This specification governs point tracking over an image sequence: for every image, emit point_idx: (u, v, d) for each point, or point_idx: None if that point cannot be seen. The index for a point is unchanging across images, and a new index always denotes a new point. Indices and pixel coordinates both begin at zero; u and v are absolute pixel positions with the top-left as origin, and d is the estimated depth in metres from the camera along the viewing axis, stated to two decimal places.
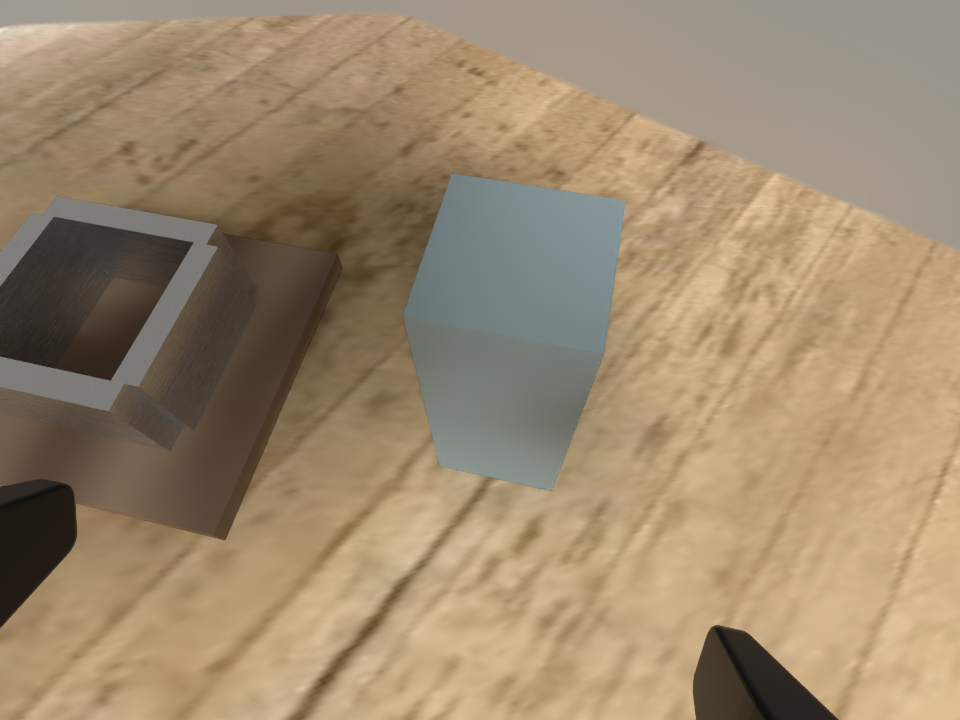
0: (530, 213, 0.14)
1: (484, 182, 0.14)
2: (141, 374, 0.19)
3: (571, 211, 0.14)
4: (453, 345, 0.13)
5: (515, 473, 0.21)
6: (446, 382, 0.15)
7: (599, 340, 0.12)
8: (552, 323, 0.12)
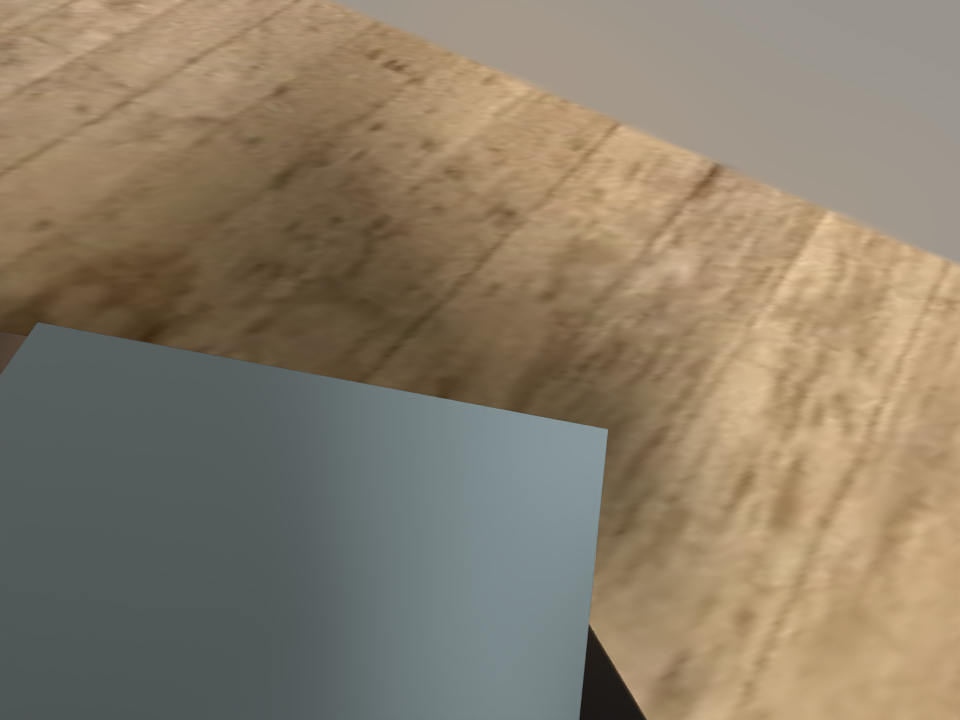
0: (258, 495, 0.04)
1: (135, 356, 0.04)
2: None
3: (410, 480, 0.04)
4: None
5: None
6: None
7: None
8: None
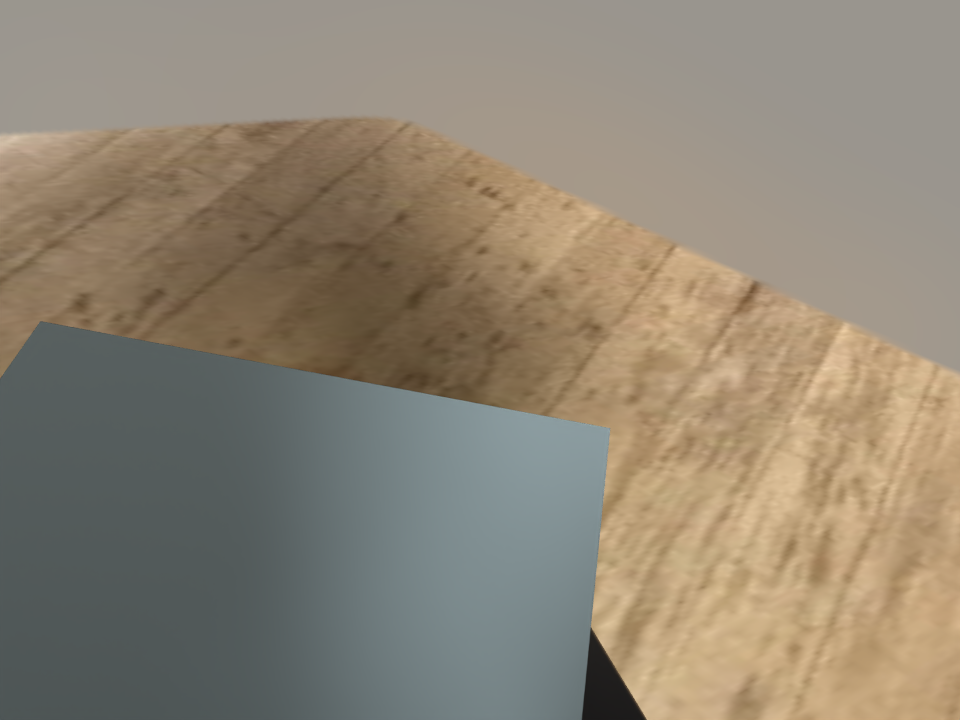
0: (261, 494, 0.04)
1: (137, 355, 0.04)
2: None
3: (412, 480, 0.04)
4: None
5: None
6: None
7: None
8: None
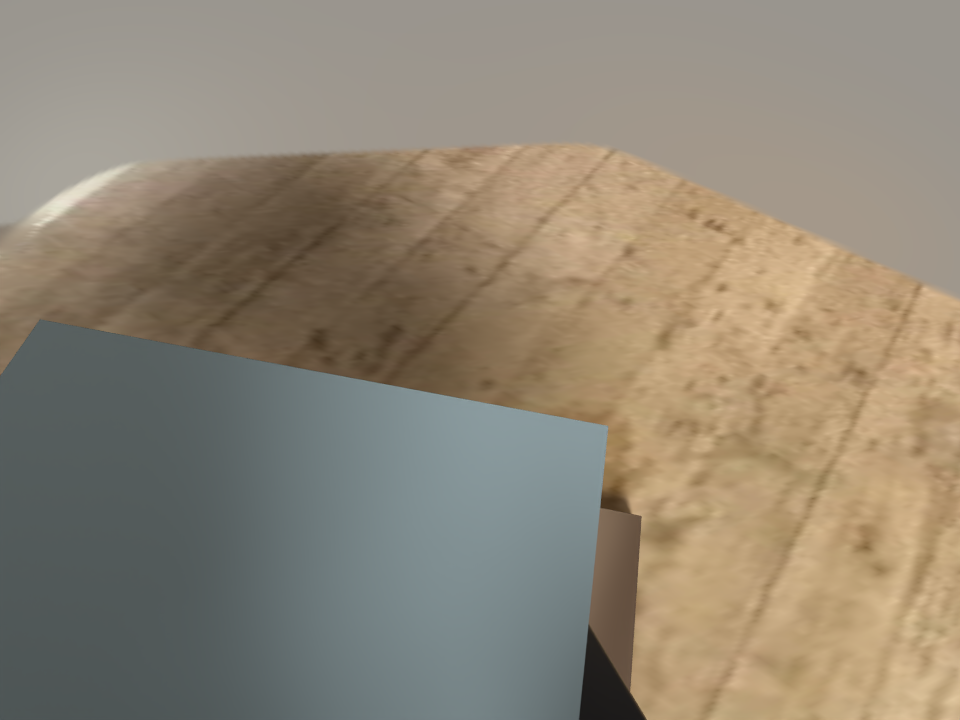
0: (260, 491, 0.04)
1: (136, 353, 0.04)
2: None
3: (411, 476, 0.04)
4: None
5: None
6: None
7: None
8: None
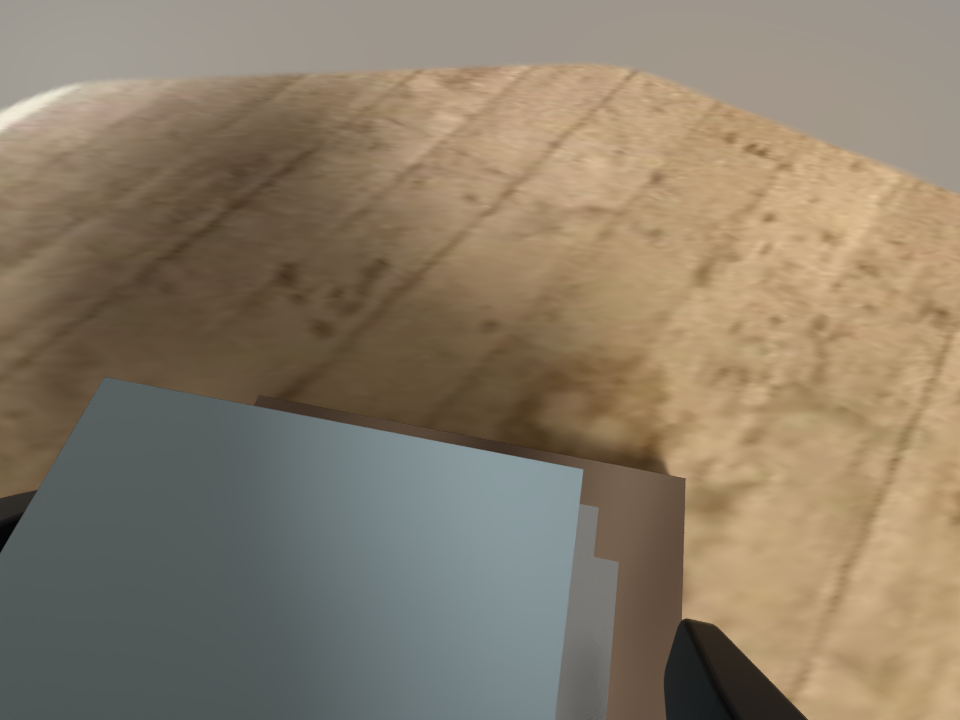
0: (297, 525, 0.05)
1: (188, 407, 0.05)
2: None
3: (420, 514, 0.05)
4: None
5: None
6: None
7: None
8: None
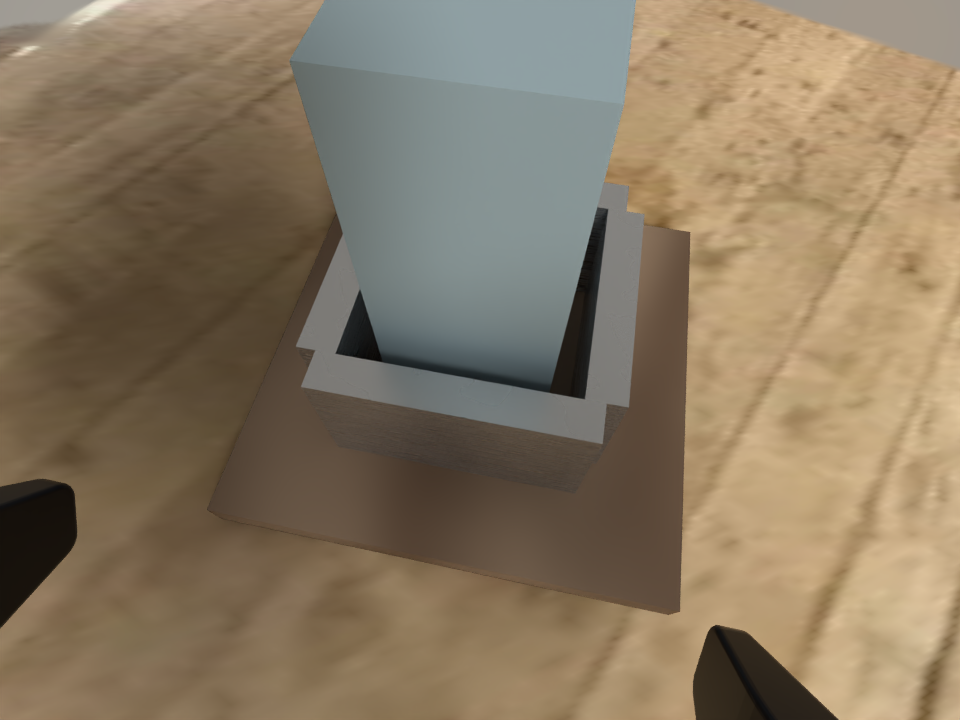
0: None
1: None
2: (624, 388, 0.13)
3: None
4: (381, 128, 0.08)
5: None
6: (381, 226, 0.10)
7: (615, 87, 0.07)
8: (536, 68, 0.07)
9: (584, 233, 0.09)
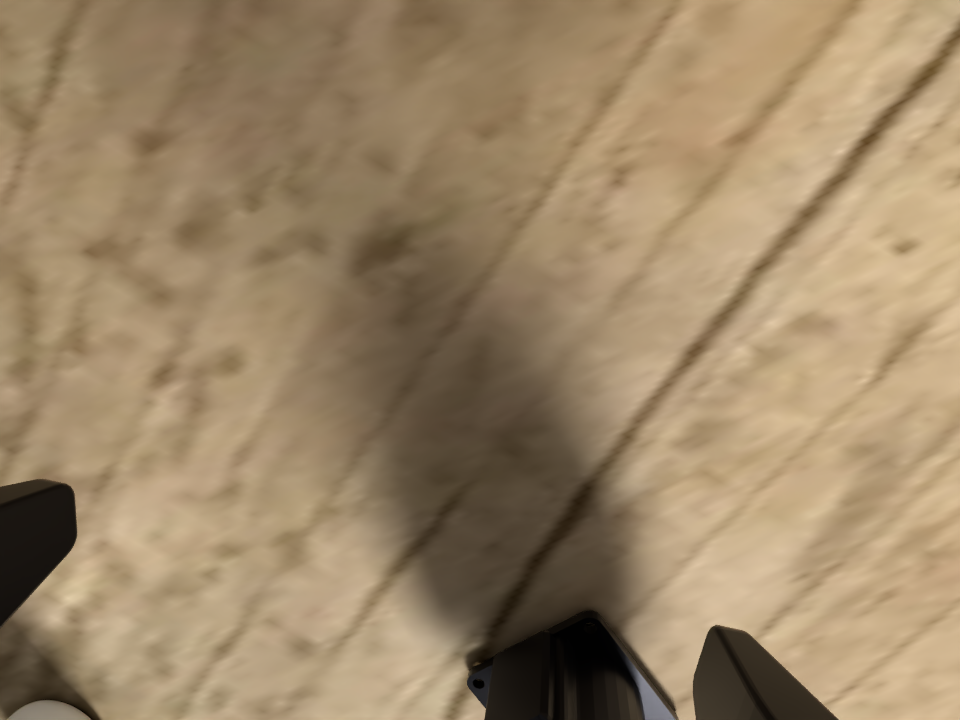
0: None
1: None
2: None
3: None
4: None
5: None
6: None
7: None
8: None
9: None
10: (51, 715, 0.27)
